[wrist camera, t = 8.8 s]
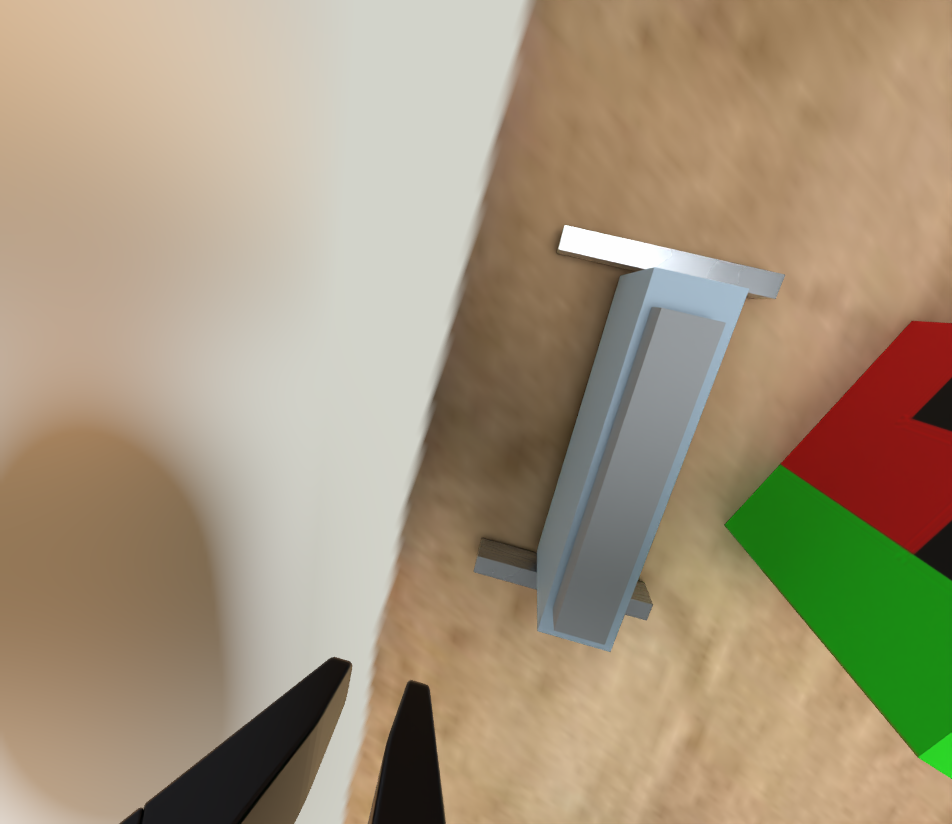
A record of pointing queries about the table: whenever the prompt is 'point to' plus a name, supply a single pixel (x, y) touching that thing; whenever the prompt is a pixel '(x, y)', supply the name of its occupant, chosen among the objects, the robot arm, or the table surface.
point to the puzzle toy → (874, 535)
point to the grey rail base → (636, 257)
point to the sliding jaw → (629, 446)
